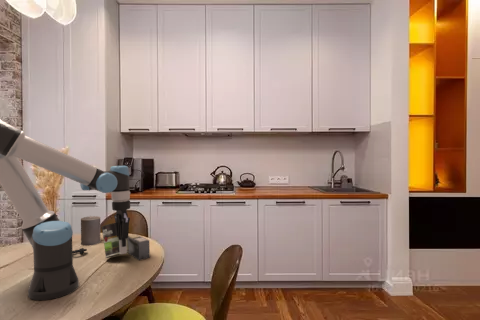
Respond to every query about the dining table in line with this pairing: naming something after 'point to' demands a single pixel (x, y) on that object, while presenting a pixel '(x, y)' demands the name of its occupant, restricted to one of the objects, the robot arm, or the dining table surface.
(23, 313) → the dining table surface
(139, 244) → the box
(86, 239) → the pillar candle
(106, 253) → the coffee can
